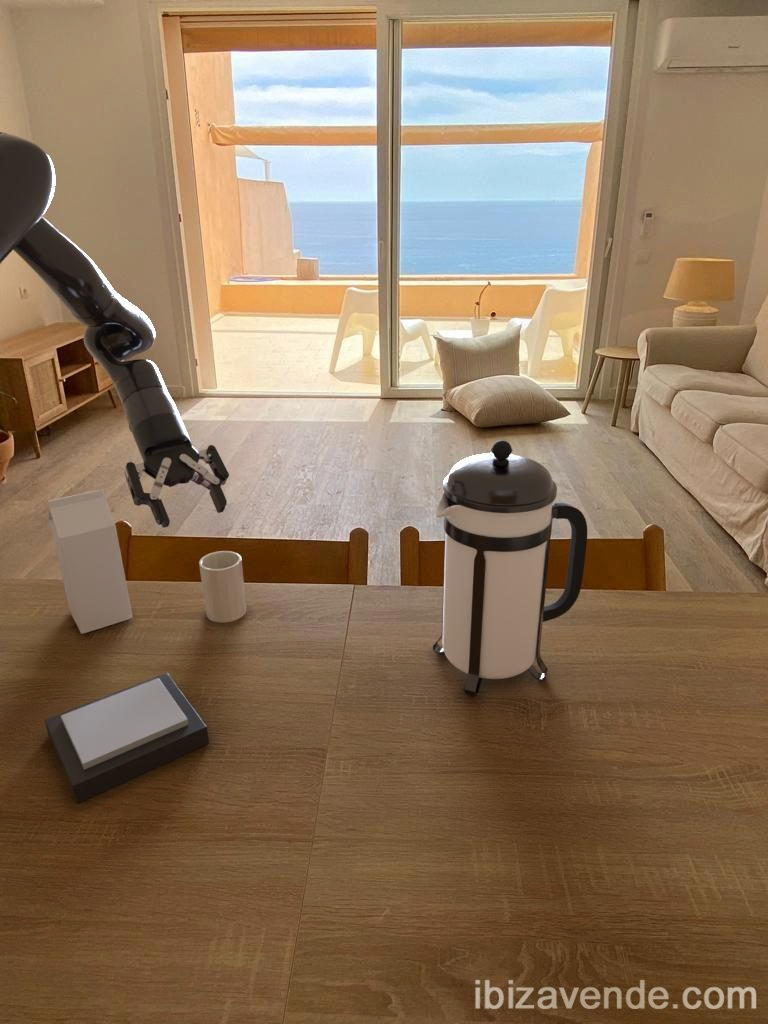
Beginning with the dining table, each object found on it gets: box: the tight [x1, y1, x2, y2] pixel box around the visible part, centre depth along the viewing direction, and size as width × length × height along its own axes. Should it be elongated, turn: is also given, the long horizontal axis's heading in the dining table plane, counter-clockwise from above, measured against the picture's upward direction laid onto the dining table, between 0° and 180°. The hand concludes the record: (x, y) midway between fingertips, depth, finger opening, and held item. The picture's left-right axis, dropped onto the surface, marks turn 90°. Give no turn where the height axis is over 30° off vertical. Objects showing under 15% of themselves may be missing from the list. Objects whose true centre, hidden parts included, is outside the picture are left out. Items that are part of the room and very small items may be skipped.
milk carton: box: [47, 488, 133, 635], centre depth 97 cm, size 7×7×19 cm
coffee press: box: [432, 439, 588, 697], centre depth 84 cm, size 17×16×30 cm
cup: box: [198, 550, 248, 624], centre depth 99 cm, size 6×6×8 cm
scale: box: [44, 672, 210, 805], centre depth 76 cm, size 14×12×3 cm
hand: (195, 517), depth 102 cm, fingers open, 8 cm apart
